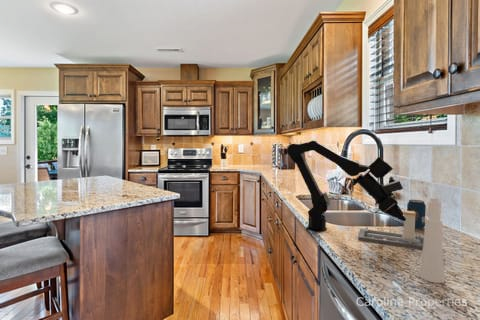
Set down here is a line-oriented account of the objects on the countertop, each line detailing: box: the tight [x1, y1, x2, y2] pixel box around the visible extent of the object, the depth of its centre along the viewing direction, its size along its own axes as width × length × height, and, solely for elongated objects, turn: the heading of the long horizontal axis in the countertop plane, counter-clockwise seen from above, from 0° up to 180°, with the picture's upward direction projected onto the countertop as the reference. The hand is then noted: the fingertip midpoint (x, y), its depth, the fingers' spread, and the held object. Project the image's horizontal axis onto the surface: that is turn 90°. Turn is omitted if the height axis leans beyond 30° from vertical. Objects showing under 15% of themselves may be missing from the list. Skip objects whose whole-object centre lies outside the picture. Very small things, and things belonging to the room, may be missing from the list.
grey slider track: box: [358, 227, 424, 250], centre depth 104 cm, size 24×12×3 cm, turn 63°
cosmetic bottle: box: [417, 196, 446, 284], centre depth 74 cm, size 6×6×22 cm
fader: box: [401, 210, 416, 240], centre depth 102 cm, size 4×4×10 cm
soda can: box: [406, 199, 427, 230], centre depth 121 cm, size 7×7×12 cm
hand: (403, 217), depth 102 cm, fingers open, 9 cm apart
